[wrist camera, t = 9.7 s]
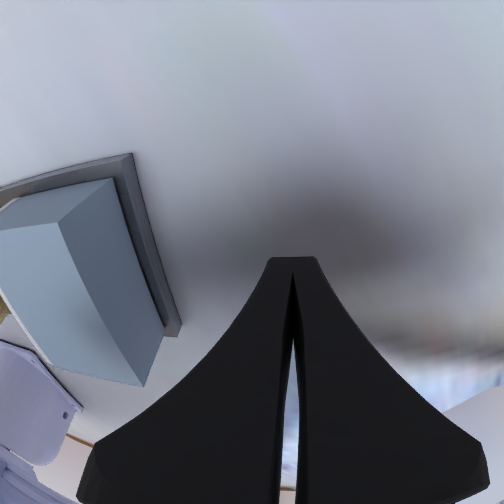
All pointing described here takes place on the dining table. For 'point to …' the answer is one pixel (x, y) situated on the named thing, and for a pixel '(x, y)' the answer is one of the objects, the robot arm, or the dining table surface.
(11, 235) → the block
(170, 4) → the dining table surface
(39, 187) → the vise
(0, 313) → the tan wooden block
